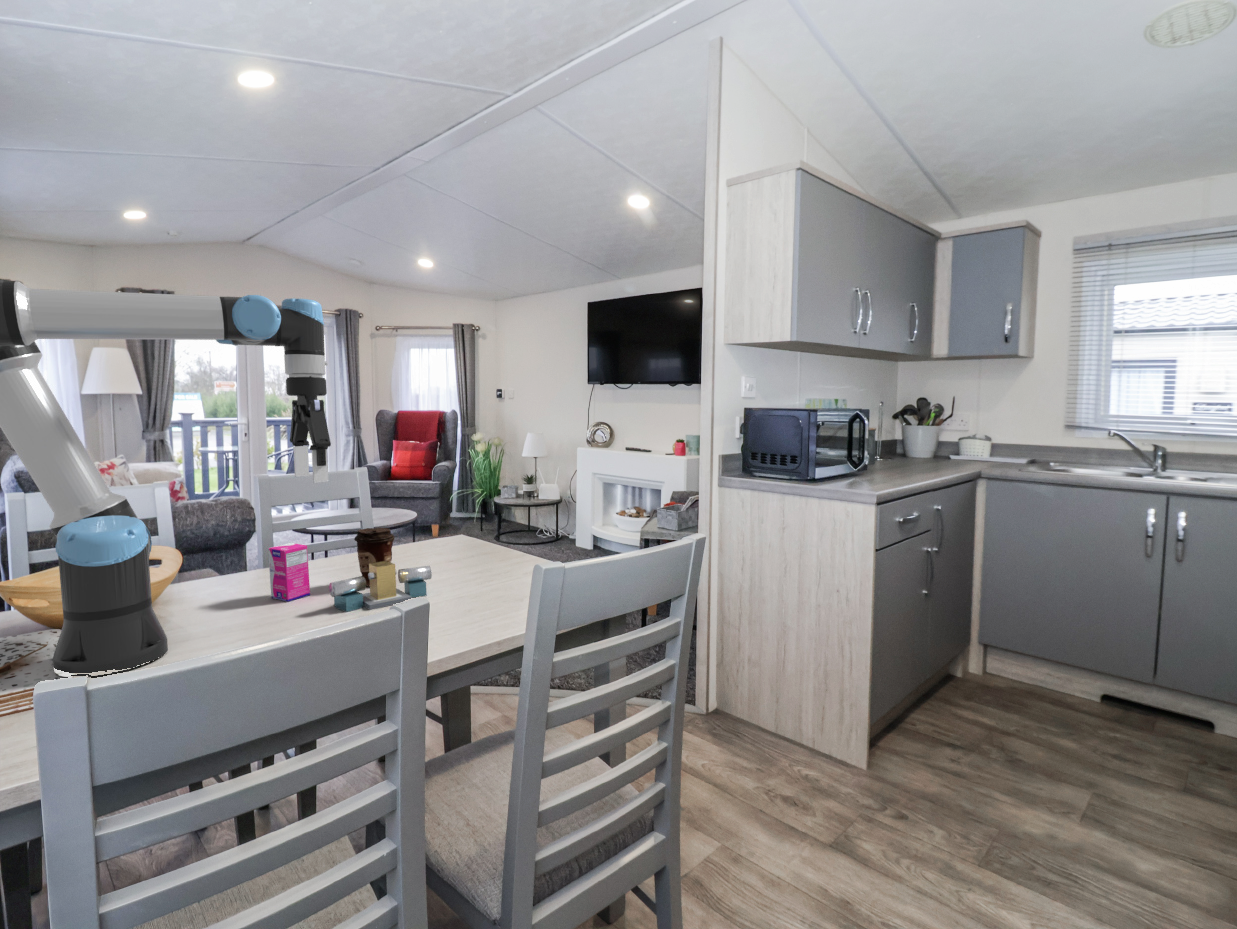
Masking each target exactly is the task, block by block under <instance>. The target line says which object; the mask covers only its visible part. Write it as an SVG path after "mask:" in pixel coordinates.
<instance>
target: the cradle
mask: <svg viewBox="0 0 1237 929" xmlns="http://www.w3.org/2000/svg"><path fill="white" fill-rule="evenodd" d="M362 594H363V607H365V608H366V609H368V610H369V611H370V610H375V609H380V608H386V607H391V606H394V605H393V604H396V603H400V602H403V601H405V600H408V599H411V598H412V597H411V596H410V595H408V594H406V593H405V591H403V590H401V589H399V588H397V587H396V596H395V597H390V598H385V599H380V600H377V599H375V598H374V597H372V596H371V595H370V592H366V593H362ZM412 599H413V598H412ZM396 605H397V604H396Z"/></svg>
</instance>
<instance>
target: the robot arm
mask: <svg viewBox="0 0 1237 929" xmlns="http://www.w3.org/2000/svg"><path fill="white" fill-rule="evenodd" d="M323 315H324V314H323V306H322V305H321V303H320V302H318V301H317V300H314V299H308V298H295V297H293V298H284V299H283V300H282V301H281V306H280V307H278V306H277V305H276V304H275V302H273V301H272V300H271V299H270V298H268V297H266V296H263V295H261V294H260V295H259V294H247V295H244V296H220V295H199V294H198V295H195V294H173V293H172V294H171V293H146V292H145V293H143V292H122V291H121V292H119V291H100V290H99V291H97V290H96V291H95V290H72V289H68V290H67V289H44V288H29V287H28V286H26V285H25V284H24V283H22V282H21V281H19V280H0V429H1V431H2V433H3V434H4V435H5V437H6V439H7V440H8V442H9V444H10V445H11V447H12V448H13V450H14V451H15V453H16V455H17V457H18V458H19V460H20V461H21V462H22V465H23V466H24V467H25V469H26V471H27V472H28V474H29V476H30V478H31V479H32V480H33V482H34V484H35V485H36V488H38V491H40V493H41V495H42V497H43V498H44V499H45V501H46V503H47V505H48V506H49V507H50V509H51V512H52V513H53V518H52V520H51V522H50V524H49V528H50V530H51V531H52V533H53V535H54V536H55V538H56V542H55V553H56V554H57V557H58V570H59V581H60V591H61V592H60V593H61V606H62V614H63V615H62V616H63V624H62V628H61V630H60V633H59V636H58V639H57V644H56V646H55V650H54V653H53V656H52V667H54V668H55V669H57V670H61V671H64V672H69V673H92V672H98V671H105V672H107V670H113V669H115V670H122V669H127V668H133V667H136V666H137V665H141V664H143V663H146V662H149V661H153V660H155V659H157V658H158V657H160V658H162V657H163V656H165V655H166V654H167V652H168V650H169V646H168V638H167V637H168V636H167V634H166V633H165V631H164V628H163V626H162V624H161V622H160V620H159V618H158V617H157V614H156V613H155V611H154V608H153V600H152V586H151V573H150V555H151V552H152V547H153V546H152V545H153V543H152V542H153V541H152V536H151V533H150V530H149V529H148V527H147V526H146V524H145V523H144V521H143V520H141V519H139V518H138V516H137V515H136V512H135V511H134V509H133V507H132V506H131V504H130V502H129V501H128V499H127V497H126V496H124V495H121V494H118V493H114V492H112V491H111V490H110V488H109V487H108V485H107V484H106V482H105V479H104V478H103V476H102V475H101V473H100V471H99V469H98V468H97V466H96V464H95V463H94V461H93V459H92V458H91V456H90V455H89V452H88V451H87V449H86V448H85V446H84V444H83V442H82V440H81V439H80V437H79V436H78V434H77V432H76V430H75V429H74V427H73V425H72V424H71V421H70V420H69V419H68V417H67V415H66V414H65V411H64V410H63V408H62V407H61V405H60V403H59V401H58V400H57V399H56V397H55V395H54V394H53V391H52V390H51V388H50V386H49V385H48V383H47V381H46V379H45V378H44V377H43V374H42V373H41V371H40V370H39V368H38V366H39V363H40V361H41V359H42V357H43V354H42V352H41V350H40V349H39V346H38V345H37V343H36V340H176V341H177V340H178V341H179V340H188V341H189V340H195V341H198V340H202V341H204V340H205V341H206V340H208V341H209V340H211V341H213V340H214V341H216V343H218V344H221V345H233V346H235V347H236V346H258V347H259V346H263V347H265V346H267V347H268V346H269V347H270V346H271V347H273V346H275V347H283V350H284V351H283V352H284V355H283V357H284V374H285V375H286V376H288V377H286V379H285V387H286V388H285V390H286V395H287V396H291V397H297V398H296V399H295V400H294V399H293V400H292V401H291V409H292V410H291V422H290V435H289V442H290V443H292V444H291V445H292V447H293V462H294V463H293V464H294V465H293V467H294V477H296V478H297V477H298V478H299V477H310V464H309V451H311V461H312V463H311V466H312V482H313V484H317V483H326V482H329V481H330V480H329V464H328V462H329V460H328V448H329V447H331V446H332V445H331V444H332V442H331V439H330V434H329V428H328V423H327V418H326V412H325V401H324V400H323V399H318V397H323V396H327V391H328V390H327V389H328V388H327V379H326V378H324V377H323V376H325V375H326V366H328V364H329V362H328V360H326V358H325V357H326V356H325V355H326V354H325V351H326V350H325V330H324V329H325V322H324V316H323ZM308 436H309V438H310V440H311V445H310V442H309V440H308ZM308 446H310V447H308ZM164 654H165V655H164ZM161 656H162V657H161ZM157 660H158V659H157ZM155 661H156V660H155ZM153 662H154V661H153ZM143 666H144V665H141V666H140V667H143ZM131 670H132V669H129V670H123V671H118V672H112V674H111V675H113V673H114V674H117V673H122V672H123V673H124V672H126V671H131ZM86 675H88V676H91V675H89V674H77V675H71V676H86ZM101 676H102V675H99V676H98V677H101ZM103 676H107V675H106V674H104V675H103ZM95 677H97V676H95ZM95 677H94V678H95Z"/></svg>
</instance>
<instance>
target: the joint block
mask: <svg viewBox="0 0 1237 929" xmlns="http://www.w3.org/2000/svg"><path fill="white" fill-rule="evenodd" d="M396 575H397V569H396V564H395V563H393V562H392V561H391V562H389V561H382V562H376V563H370V564H369V573H368V578H369V580H370V586H369V591H370V592H369V593H370V595H371V596H372V597H374V598H375V599H377V600H380V599H385V598H390V597H395V596H396V588H397V577H396Z"/></svg>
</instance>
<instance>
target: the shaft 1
mask: <svg viewBox="0 0 1237 929" xmlns="http://www.w3.org/2000/svg"><path fill="white" fill-rule="evenodd" d="M366 589H367V586H366V580H365V578H364V577H363V576H362V575H360V576H359V575H358V576H356V577H351V578H347V579H343V580H338V581H334V582H330V583H329V585H328V591H329V594H330V596H331V597H332V598H333V602H334V608H336V609H339V610H340V611H343V612H345V613H348V612H352V611H356V610H360V609H363V608H364V606H363V594H364V593H361V591H364V590H366Z"/></svg>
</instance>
